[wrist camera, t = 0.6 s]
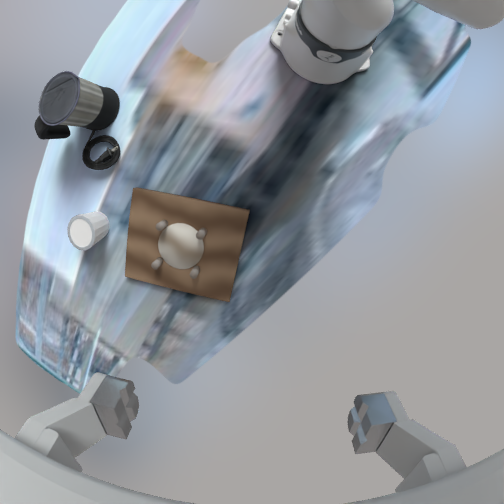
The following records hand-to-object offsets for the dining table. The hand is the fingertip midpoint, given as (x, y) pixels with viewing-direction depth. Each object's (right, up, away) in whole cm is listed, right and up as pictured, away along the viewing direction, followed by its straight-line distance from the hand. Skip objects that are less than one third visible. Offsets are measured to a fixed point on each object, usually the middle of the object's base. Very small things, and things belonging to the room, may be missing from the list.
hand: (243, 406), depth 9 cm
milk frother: (-29, +30, +38) cm, 57 cm away
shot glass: (-31, +11, +44) cm, 55 cm away
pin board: (-13, +7, +45) cm, 47 cm away
